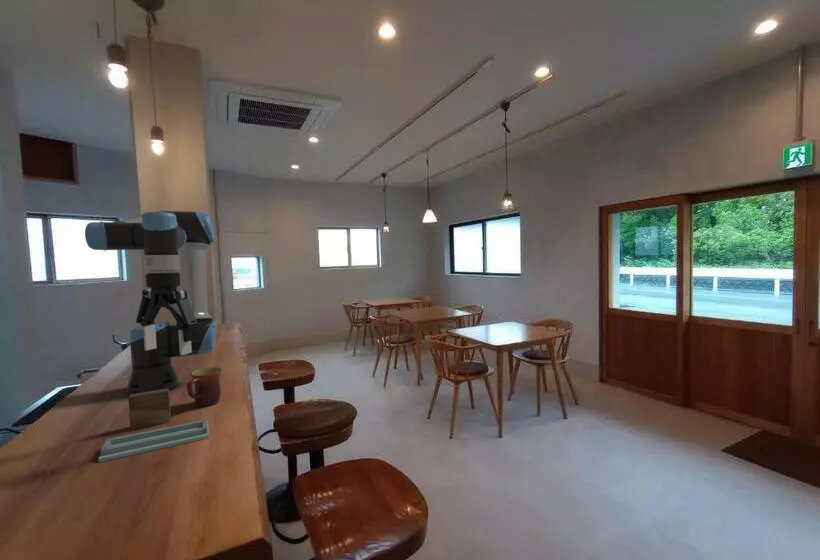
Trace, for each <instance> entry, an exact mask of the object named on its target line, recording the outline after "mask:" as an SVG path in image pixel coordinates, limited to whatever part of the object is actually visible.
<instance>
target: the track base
mask: <svg viewBox="0 0 820 560" xmlns="http://www.w3.org/2000/svg"><path fill="white" fill-rule="evenodd" d="M209 430H210V429H209V421H208V419H207V418H206V419H202V420H201V419H200V420H197V421H196V420H195V421H192V422H187V423H182V424H177V425H173V426H166V427H161V428H157V429H153V430H147V431H142V432H136V433H132V434H127V435H121V436H116V437H111V438H107V439H106V440H105V442H104V445H103V446H102V448H101V450H100V455H99V457H98V463H101V462H106V461H111V460H116V459H119V458H124V457H129V456H133V455H138V454H141V453H142V454H143V453H146V452H147V453H149V452H151V451H157V450H160V449H164V448H169V447H174V446H179V445H183V444H188V443H193V442H197V441H201V440H205V439H209V432H210V431H209Z"/></svg>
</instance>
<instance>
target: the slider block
mask: <svg viewBox="0 0 820 560" xmlns="http://www.w3.org/2000/svg"><path fill="white" fill-rule="evenodd" d="M170 402H171V399H170V390H169V389H163V390H157V391H150V392H144V393H137V394H131V395H129V396H128V412H129V413H128V414H129V426H130V427H129V428H130V429H129V430H130V431H133V430H138V429H144V428H149V427H154V426H159V425H164V424H170V423H171V420H172V419H171V417H172V415H171V403H170Z"/></svg>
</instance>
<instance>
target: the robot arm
mask: <svg viewBox="0 0 820 560" xmlns="http://www.w3.org/2000/svg"><path fill="white" fill-rule="evenodd" d="M84 230H85V231H84V236H85V237H84V238H85V242H86V244H87V246H88V247H89V248H90V249H91V250H95V251H126V250H127V251H128V250H129V251H132V250H133V251H134V250H137V251H140V250H141V251H143V253H144V254H143V255H144V267H145V268H144V269H145V272H147V273H146V274H145V286H146V287H147V288H149V289H142V290H141V291H142V292H141V301H140V305H139V308H138V312H137V315H136V319H135V322H136V324H140V325H139V326H136V327H134V328H132V329H131V331H130V334H129V345H130V359H131V373H130V375H129V379H128V383H127V384H126V393H127V395H129V396H130V395H131V394H137V393H144V392H150V391H157V390H163V389H169V391H170V390H173V389H174V388H176V387H177V386H178V385H179V377H178V374H177V373H176V370H175V368H174V366H173V364H172V363H173V362H172V358H180V357H182V358H183V357H188V356H189V357H190V356H200V355H201V356H202V355H206V354H211V353H212V352H213V351H214V349H215V346H216V342H217V338H218V337H217V335H218V322H216V321H213V316H212V315H210V314H209V313H208V310H209V309H208V307H209V306H208V305H209V304H208V277H207V275H208V272H207V252H208V250H209V249H210V248H211V244H213V243H214V242H215V233H214V226H213V222H212V219H211V216H210V214H208V213H207V212H206V211H205V212H203V211H202V212H201V211H179V210H178V211H175V210H160V211H146V212H143V213H141V214H137V215H135V216H134V217H133V218H130V219H124V220H118V221H111V222H110V221H109V222H108V221H95V222H94V221H93V222H92V221H90V222H88V223H87V225H86V226H85V229H84ZM179 270H180V272H179ZM179 286H180V290H178V289H177V288H178V287H179ZM162 308H165V309H166V310H168V311H170V313H171V315H172V317H173V318H174V320H175V323H176V324H171V323H170V321H168V320H165V321H164V320H163V321H162V320H161V321H157V322H155V320H156V317H158V314H159V313H160V311H161V309H162Z"/></svg>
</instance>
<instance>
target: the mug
mask: <svg viewBox="0 0 820 560" xmlns="http://www.w3.org/2000/svg"><path fill="white" fill-rule="evenodd" d="M222 372H223V368H221V367H219V366H218V367H217V366H216V367H215V366H213V367H203V368H199V369H196V370H193V371H191V373H190V376H191V379H190V380H188V381H187V383H186V391H187V395H188V396H189V398H192V399H194V403H195V404H196V405H197V406H198V407H208V406H212V405H215V404H217V403H218V402H220V400H221V397H222V391H221V389H222V388H221V387H222V386H221V375H222ZM193 385H194V388H193Z"/></svg>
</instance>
